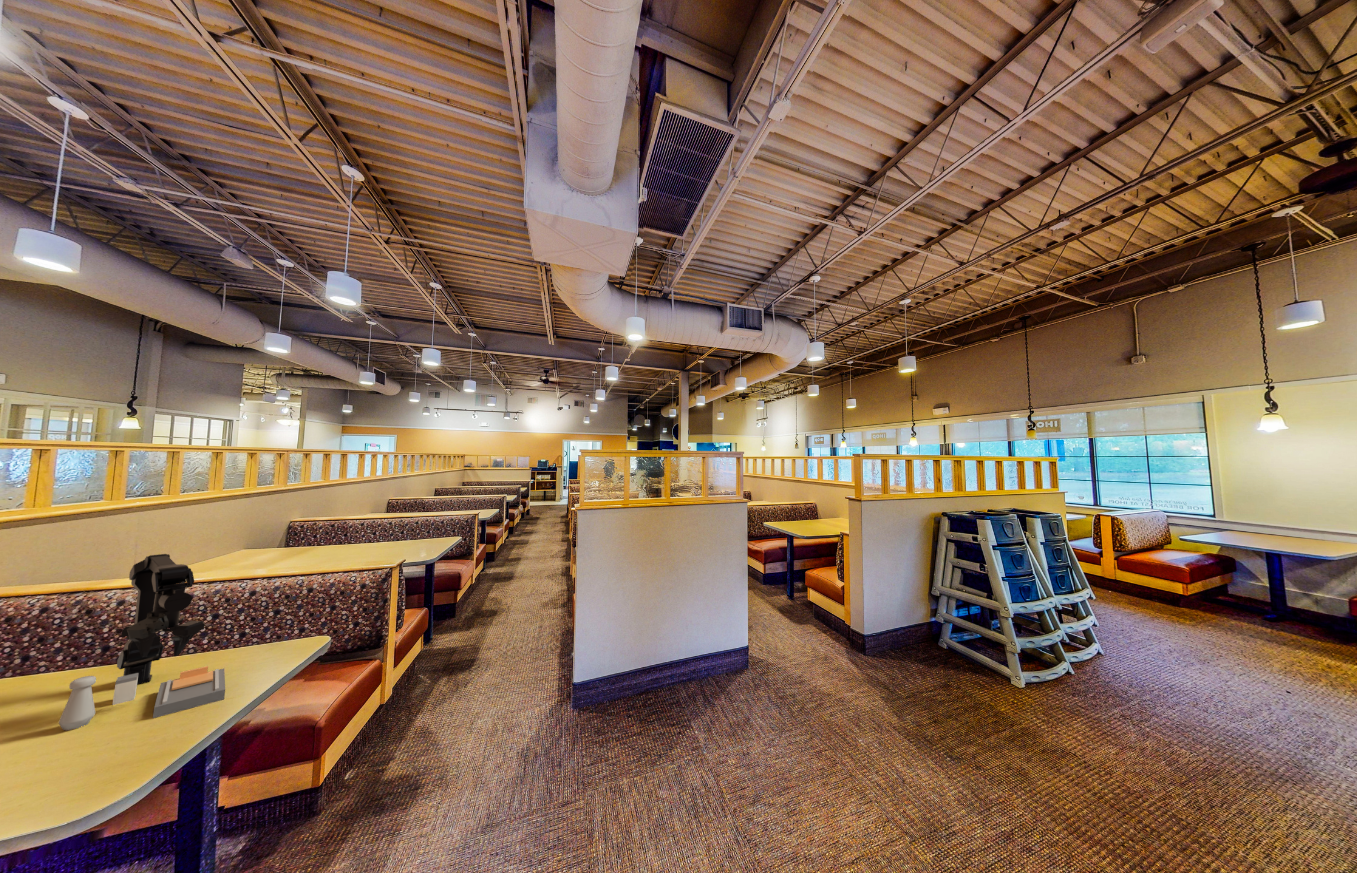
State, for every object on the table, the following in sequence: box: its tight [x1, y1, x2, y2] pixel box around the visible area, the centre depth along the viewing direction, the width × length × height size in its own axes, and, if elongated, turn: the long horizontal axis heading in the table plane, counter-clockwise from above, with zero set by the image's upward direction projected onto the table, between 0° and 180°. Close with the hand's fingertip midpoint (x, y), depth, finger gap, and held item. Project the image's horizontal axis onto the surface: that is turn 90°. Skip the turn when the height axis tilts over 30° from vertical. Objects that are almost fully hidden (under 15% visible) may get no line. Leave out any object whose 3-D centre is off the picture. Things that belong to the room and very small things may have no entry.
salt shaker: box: [58, 675, 97, 731], centre depth 116 cm, size 6×6×13 cm
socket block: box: [152, 668, 226, 719], centre depth 132 cm, size 22×14×4 cm, turn 49°
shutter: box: [172, 665, 214, 690], centre depth 135 cm, size 9×9×3 cm
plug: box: [112, 673, 139, 706], centre depth 129 cm, size 4×4×7 cm
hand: (160, 656), depth 131 cm, fingers open, 9 cm apart
